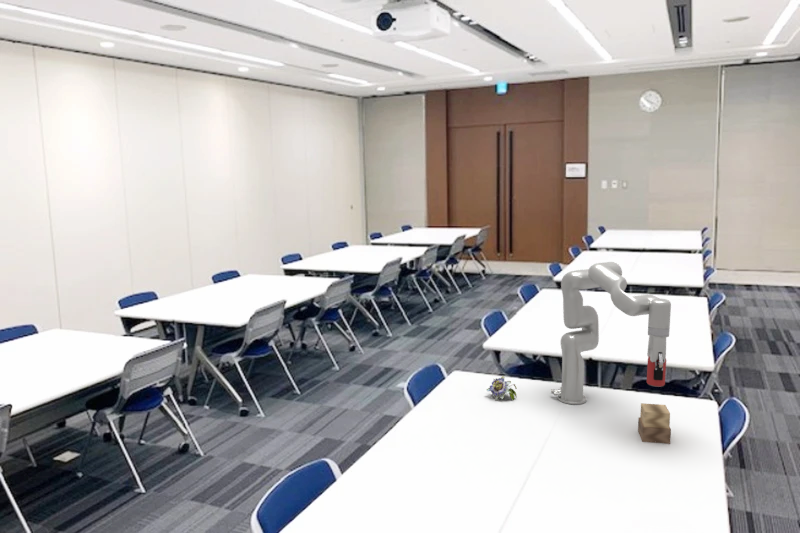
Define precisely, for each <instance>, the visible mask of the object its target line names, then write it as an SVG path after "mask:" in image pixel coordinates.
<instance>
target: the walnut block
mask: <svg viewBox="0 0 800 533" xmlns="http://www.w3.org/2000/svg"><path fill="white" fill-rule="evenodd" d="M637 423H638V424H637V433H638V434H639V437H640V439H641V442H643V443H656V444H665V445H666V444H668V445H670V444H671V435H672V428H671V427H670V426H669V429H667V428H653V427H644V425H643V423H642V421H641V418H640V416H638V422H637Z"/></svg>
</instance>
